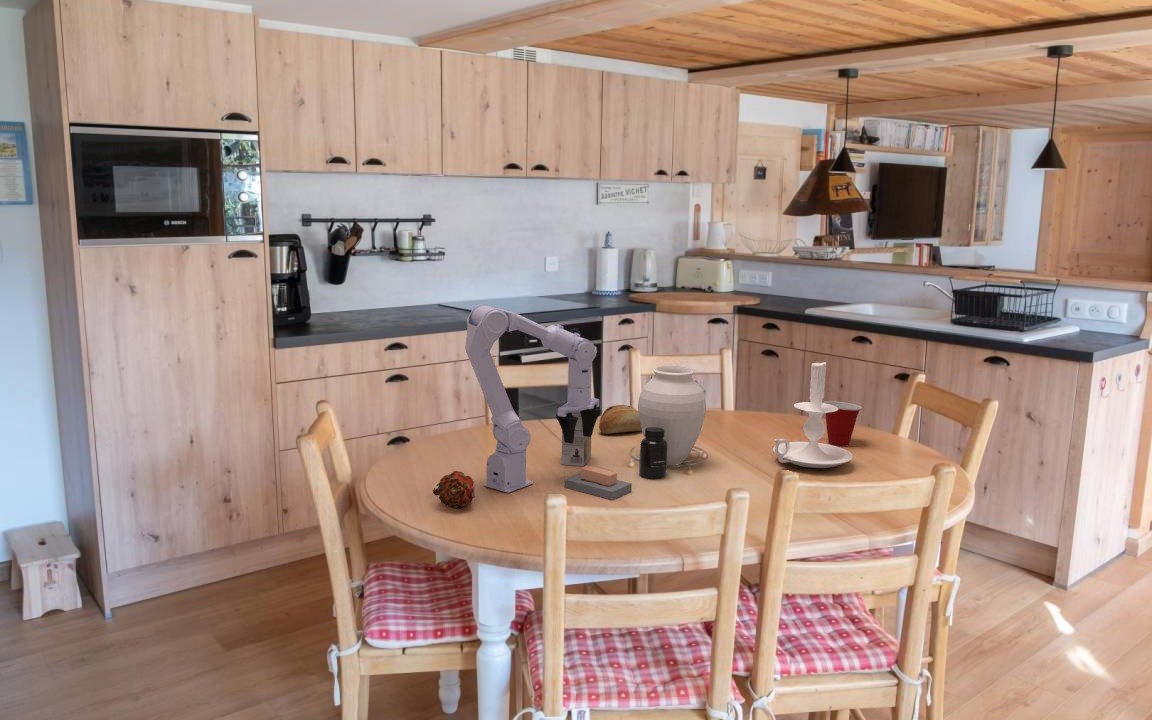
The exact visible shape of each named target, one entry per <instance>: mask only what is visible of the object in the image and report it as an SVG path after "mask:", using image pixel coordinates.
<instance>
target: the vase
mask: <svg viewBox="0 0 1152 720" xmlns="http://www.w3.org/2000/svg"><path fill="white" fill-rule="evenodd" d="M653 372H654V376H653V377H652V378H651V379H650V380H648V382H647V383H646V384H645V385H644V386H643V387H642V389H641V392H640V394H639V396H638V400H637V402H638V404H637V411H638V412H639V418H640V423H641V428H642V430H641V431H642V435H643V437H644V438H646V437H645V429H646V428H649V427H657V428H662V429H664V438H663V439H664V440H665V441H666V442H667V444H668V447H667V464H666V466H677V465H676V464H680V465H682V464H683V463H682V462H684V461H685V460H686V459H687V458H688V456H689V455H690V453H691V452H692V450H693V448H694V447H695V445H696V443H697V440H698V439H699V436H700V434H701V431H702V428H703V424H704V421H705V417H706V413H707V402H706V396H705V394H704V391H703V388H702V387H701V386H700V385H699V384H698V383H697V382H696V381H695V380H694V378H693V374H694V373H695V372H694V370H692V369H690V368H689V367H685V366H677V365H675V366H674V365H664V366H663V365H662V366H658V367H655V368H653ZM644 438H643V439H644ZM681 463H682V464H681Z"/></svg>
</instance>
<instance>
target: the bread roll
mask: <svg viewBox="0 0 1152 720" xmlns="http://www.w3.org/2000/svg"><path fill="white" fill-rule="evenodd" d="M598 428H599V431H600V433H601V434H608V435H609V434H619V433H621V434H622V433H630V432H632V433H633V432H640V431H642V428H641V423H640V418H639V412H638V409H636V408H634V407H632V406H631V405H625V404H617V405H616V404H615V405H612V406H609V407H607V408H606V409H605V410H604V411H603V412H602V414H601V416H600V420H599V423H598Z"/></svg>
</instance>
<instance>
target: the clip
mask: <svg viewBox="0 0 1152 720" xmlns="http://www.w3.org/2000/svg"><path fill="white" fill-rule="evenodd" d="M580 473H581V479H584V481H587V482H596V483H600V484H601V485H602V486H606V487H608V486H610V485H613V484H615V483H617V480H618V479H617V477H618V473H617V472H616V471H615V472H614V471H610V470H608V469H603V468H599V467H595V466H591V465H585V466H583V467H581V468H580Z"/></svg>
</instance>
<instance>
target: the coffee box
mask: <svg viewBox="0 0 1152 720" xmlns="http://www.w3.org/2000/svg"><path fill="white" fill-rule="evenodd" d="M567 402H568V399H567V400H566V401H565V402H564V403H563V404H562V406H563V405H565V404H566V403H567ZM572 415H573V417H578V418H579V419H578V421H577V423H576V427H575V432H574V441H573V443H572V444H570V443H566V442H565V440H564V436H563V432H562V431H561V465H564V466H565V465H566V466H578V467H586V464H587V463H588V461H589V460H590V459H591V457H592V436H591V437H586V436H583V427H582V417H581V413H580V411H579V412H575V413H572Z"/></svg>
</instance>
